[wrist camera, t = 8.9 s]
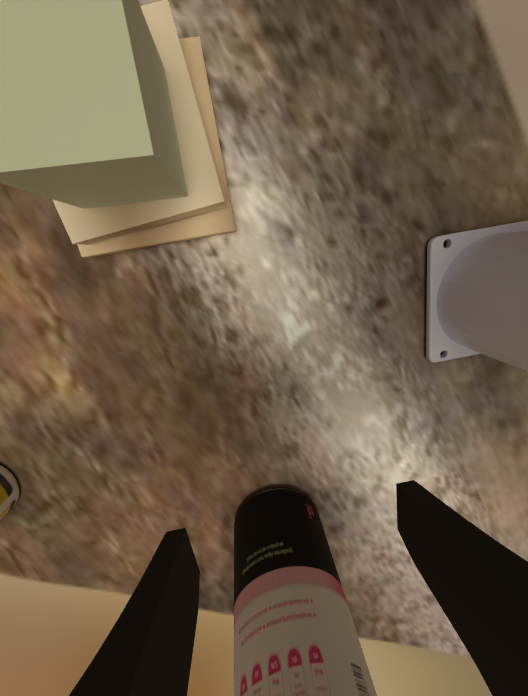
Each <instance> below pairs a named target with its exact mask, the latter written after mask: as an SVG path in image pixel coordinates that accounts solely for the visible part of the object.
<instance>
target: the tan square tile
mask: <svg viewBox="0 0 528 696" xmlns="http://www.w3.org/2000/svg"><path fill="white" fill-rule="evenodd" d="M140 7H141V9H142V12H143V15H144V17H145V20H146V22H147V25H148V27H149V30H150V32H151V35H152V38H153V40H154V43H155V45H156V48H157V50H158V53H159V56H160V58H161V61H162V63H163V66H164V68H165V73H166V79H167V84H168V89H169V95H170V100H171V106H172V111H173V117H174V122H175V128H176V133H177V139H178V144H179V150H180V155H181V161H182V166H183V171H184V177H185V182H186V188H187V193H188V196H186V197H178V198H169V199H161V200H153V201H144V202H136V203H128V204H119V205H111V206H103V207H94V208H86V209H82V208H79V207H76V206H73V205H69V204H66V203H63V202H59V201H56V200H53V199H52V200H53V202H54V204H55V206H56V209H57V211H58V213H59V215H60V217H61V219H62V222H63V224H64V226H65V228H66V230H67V233H68V235H69V237H70V239H71V241H72V244H82V245H96V244H99V243H103V242H106V241H110V240H113V239H117V238H120V237H124V236H127V235H131V234H135V233H138V232H142V231H145V230H149V229H152V228H156V227H159V226H163V225H167V224H170V223H174V222H177V221H181V220H184V219H188V218H191V217H195V216H198V215H202V214H206V213H209V212H213V211H216V210H220V209H223V208H225V202H224V198H223V194H222V191H221V187H220V184H219V180H218V177H217V173H216V169H215V166H214V162H213V159H212V155H211V152H210V148H209V145H208V141H207V138H206V134H205V130H204V127H203V123H202V120H201V116H200V113H199V109H198V106H197V102H196V98H195V95H194V91H193V88H192V84H191V81H190V77H189V74H188V70H187V67H186V63H185V59H184V56H183V52H182V49H181V45H180V42H179V38H178V35H177V31H176V27H175V24H174V20H173V17H172V13H171V10H170V6H169V3H168V0H162V1H158V2H155V3H151V4H147V5H144V6H140Z"/></svg>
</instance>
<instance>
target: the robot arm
mask: <svg viewBox="0 0 528 696" xmlns="http://www.w3.org/2000/svg"><path fill="white" fill-rule="evenodd" d="M445 240H446V241H447V245H446V247H445V248H444V247H443V242H444V241H445ZM442 351H444V352H443V354H442V355H441V356H440V353H441V352H442ZM477 354H484V355H486V356H489V357H491V358H494V359H496V360H499V361H501V362H504V363H506V364H509V365H511V366H514V367H516V368H519V369H521V370H524V371H526V372H528V220H527V221H521V222H515V223H510V224H504V225H498V226H492V227H487V228H481V229H475V230H470V231H464V232H458V233H453V234H447V235H441V236H436V237H433V238H432V239H430V240H429V242H428V246H427V316H426V358H427V359H428V360H429V361H431V362H441V361H446V360H451V359H456V358H461V357H467V356H472V355H477ZM396 489H397V526H398V531H399V533H400V535H401V537H402V539H403V541H404V543H405V546H406V548H407V550H408V552H409V554H410V556H411V558H412V560H413V562H414V563H415V565H416V567H417V568H418V570H419V572H420V573H421V575H422V577H423V578H424V580H425V582H426V583H427V585H428V587H429V588H430V590H431V592H432V593H433V595H434V596H435V598H436V600H437V601H438V603H439V604H440V606H441V608H442V609H443V611H444V613H445V614H446V616H447V617H448V619H449V621H450V622H451V624H452V626H453V627H454V629H455V630H456V632H457V634H458V635H459V637H460V639H461V640H462V642H463V643H464V645H465V647H466V648H467V650H468V652H469V653H470V655H471V657H472V659H473V660H474V662H475V664H476V665H477V667H478V669H479V671H480V673H481V675H482V677H483V678H484V680H485V682H486V684H487V686H488V688H489V690H490V692H491V694H492V695H493V696H528V562H527V561H526V560H524V559H523V558H521V557H520V556H518V555H517V554H515V553H514V552H512V551H511V550H509V549H508V548H506V547H505V546H503V545H502V544H500V543H499V542H497V541H496V540H494V539H493V538H491V537H490V536H489V535H487V534H486V533H484V532H483V531H482V530H480V529H479V528H477V527H476V526H475V525H473V524H472V523H470V522H469V521H468V520H466V519H465V518H463V517H462V516H461V515H459V514H458V513H457V512H455V511H454V510H453V509H451V508H450V507H449V506H447V505H446V504H445V503H443V502H442V501H441V500H439V499H438V498H437V497H435V496H434V495H433V494H431V493H430V492H429V491H428V490H426V489H425V488H424V487H422V486H421V485H420V484H418V483H417V482H416V481H414V480H412V481H408V482H403V483H398V484H396ZM199 578H200V571H199V568H198V565H197V562H196V559H195V556H194V553H193V550H192V547H191V544H190V541H189V538H188V535H187V532H186V529H185V528H183V529H178V530H173V531H168V532H166V534H165V535H164V537H163V539H162V541H161V543H160V545H159V547H158V548H157V550H156V552H155V554H154V556H153V558H152V560H151V562H150V564H149V565H148V567H147V569H146V571H145V573H144V575H143V576H142V578H141V580H140V582H139V584H138V585H137V587H136V589H135V591H134V592H133V594H132V596H131V598H130V600H129V601H128V603H127V605H126V607H125V609H124V610H123V612H122V613H121V615H120V617H119V618H118V620H117V622H116V623H115V625H114V627H113V628H112V630H111V631H110V633H109V635H108V636H107V638H106V640H105V641H104V643H103V644H102V646H101V648H100V649H99V651H98V653H97V654H96V656H95V657H94V659H93V661H92V662H91V664H90V665H89V666H88V668H87V670H86V671H85V673H84V674H83V676H82V677H81V679H80V680H79V682H78V683H77V685H76V686H75V687H74V689H73V690H72V692H71V693H70V695H69V696H187V689H188V682H189V675H190V668H191V660H192V653H193V646H194V637H195V631H196V623H197V615H198V602H199Z"/></svg>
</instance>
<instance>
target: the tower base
mask: <svg viewBox="0 0 528 696" xmlns="http://www.w3.org/2000/svg"><path fill="white" fill-rule="evenodd" d="M179 42H180V45H181V49H182V52H183V56H184V59H185V63H186V67H187V70H188V74H189V77H190V81H191V84H192V88H193V91H194V95H195V98H196V102H197V106H198V109H199V113H200V116H201V120H202V123H203V127H204V130H205V134H206V138H207V141H208V145H209V148H210V152H211V155H212V159H213V162H214V166H215V169H216V173H217V177H218V180H219V184H220V187H221V191H222V194H223V198H224V202H225V208H223V209H220V210H216V211H213V212H209V213H206V214H202V215H198V216H195V217H191V218H188V219H184V220H181V221H177V222H174V223H170V224H167V225H163V226H159V227H156V228H152V229H149V230H145V231H142V232H138V233H135V234H131V235H127V236H124V237H120V238H117V239H113V240H110V241H106V242H103V243H99V244H96V245H82V244H77V245H78V247H79V250H80V253H81V256H82V257H96V256H102V255H108V254H113V253H119V252H124V251H130V250H136V249H141V248H147V247H153V246H158V245H164V244H170V243H175V242H181V241H187V240H192V239H198V238H203V237H209V236H215V235H220V234H226V233H232V232H235V231H236V229H235V224H234V219H233V213H232V208H231V203H230V197H229V192H228V187H227V181H226V176H225V171H224V165H223V160H222V155H221V149H220V144H219V139H218V133H217V128H216V122H215V117H214V112H213V106H212V101H211V96H210V90H209V85H208V80H207V74H206V69H205V64H204V58H203V53H202V48H201V42H200V37H199V36H198V37H191V38H184V39H179Z"/></svg>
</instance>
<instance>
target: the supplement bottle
mask: <svg viewBox="0 0 528 696" xmlns="http://www.w3.org/2000/svg"><path fill="white" fill-rule="evenodd" d="M18 497H19V487H18V484H17V481H16V479H15V478H14V476H13V475H12V474H11V473H10V472H9V471H8V470H7V469H6V468H4V467H3V466H1V465H0V522H1V521H2V519H3V518H4V517H5V516H6V515H7V514H8V513H9V511H10V510H11V509H12V508H13V507H14V505H15V504H16V502H17V500H18Z"/></svg>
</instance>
